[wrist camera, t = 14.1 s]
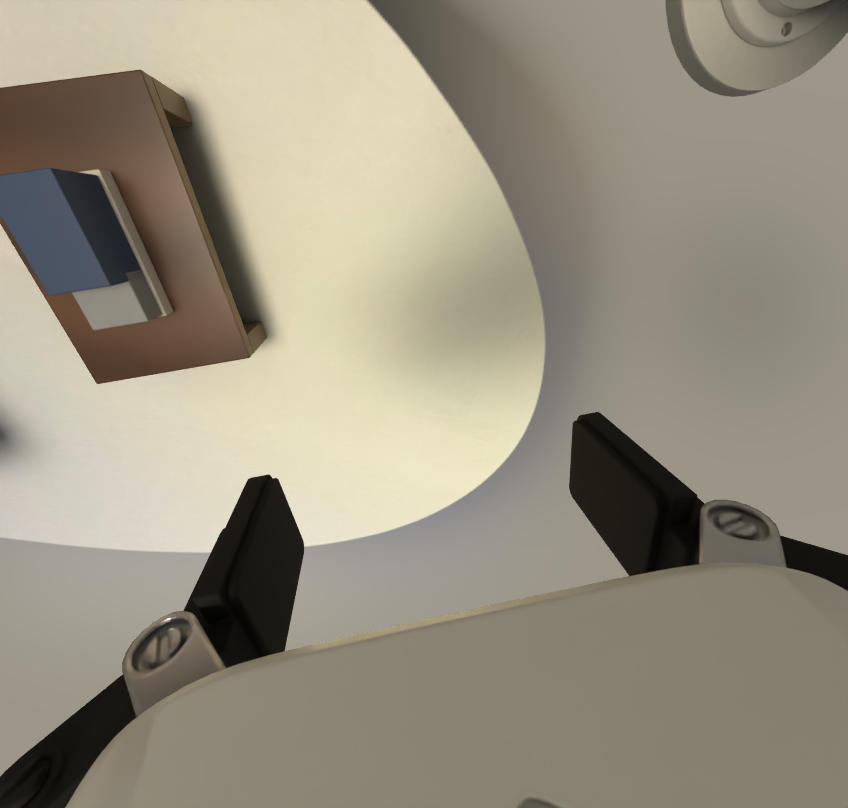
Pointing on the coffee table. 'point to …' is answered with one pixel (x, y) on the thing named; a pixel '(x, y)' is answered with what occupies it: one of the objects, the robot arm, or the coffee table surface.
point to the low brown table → (149, 209)
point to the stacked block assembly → (83, 243)
